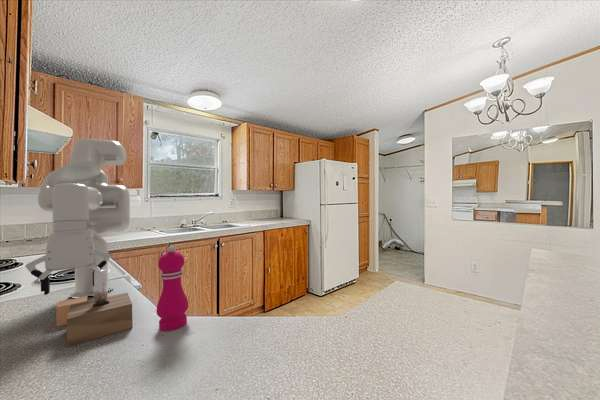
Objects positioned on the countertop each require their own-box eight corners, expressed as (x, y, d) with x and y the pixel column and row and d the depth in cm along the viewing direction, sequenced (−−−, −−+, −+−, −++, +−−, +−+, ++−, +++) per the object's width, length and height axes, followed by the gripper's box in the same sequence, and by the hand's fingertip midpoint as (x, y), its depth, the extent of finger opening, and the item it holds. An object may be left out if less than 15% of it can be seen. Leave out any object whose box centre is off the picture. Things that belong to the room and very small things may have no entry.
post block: (71, 327, 63) (70, 304, 64) (127, 313, 71) (127, 292, 71) (67, 346, 54) (66, 319, 54) (132, 327, 62) (132, 303, 62)
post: (94, 306, 63) (93, 270, 63) (107, 303, 65) (106, 268, 65) (94, 308, 61) (93, 272, 61) (107, 305, 63) (107, 270, 63)
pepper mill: (175, 333, 58) (173, 248, 59) (149, 331, 60) (147, 248, 60) (194, 319, 65) (192, 243, 66) (171, 318, 67) (168, 243, 67)
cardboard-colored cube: (59, 319, 69) (58, 301, 69) (87, 312, 73) (87, 295, 73) (56, 326, 65) (56, 307, 65) (86, 319, 68) (86, 301, 69)
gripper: (109, 225, 78) (110, 280, 77) (29, 230, 67) (28, 294, 66) (110, 225, 72) (111, 284, 71) (22, 230, 61) (22, 300, 60)
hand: (71, 289), depth 68 cm, fingers open, 9 cm apart
